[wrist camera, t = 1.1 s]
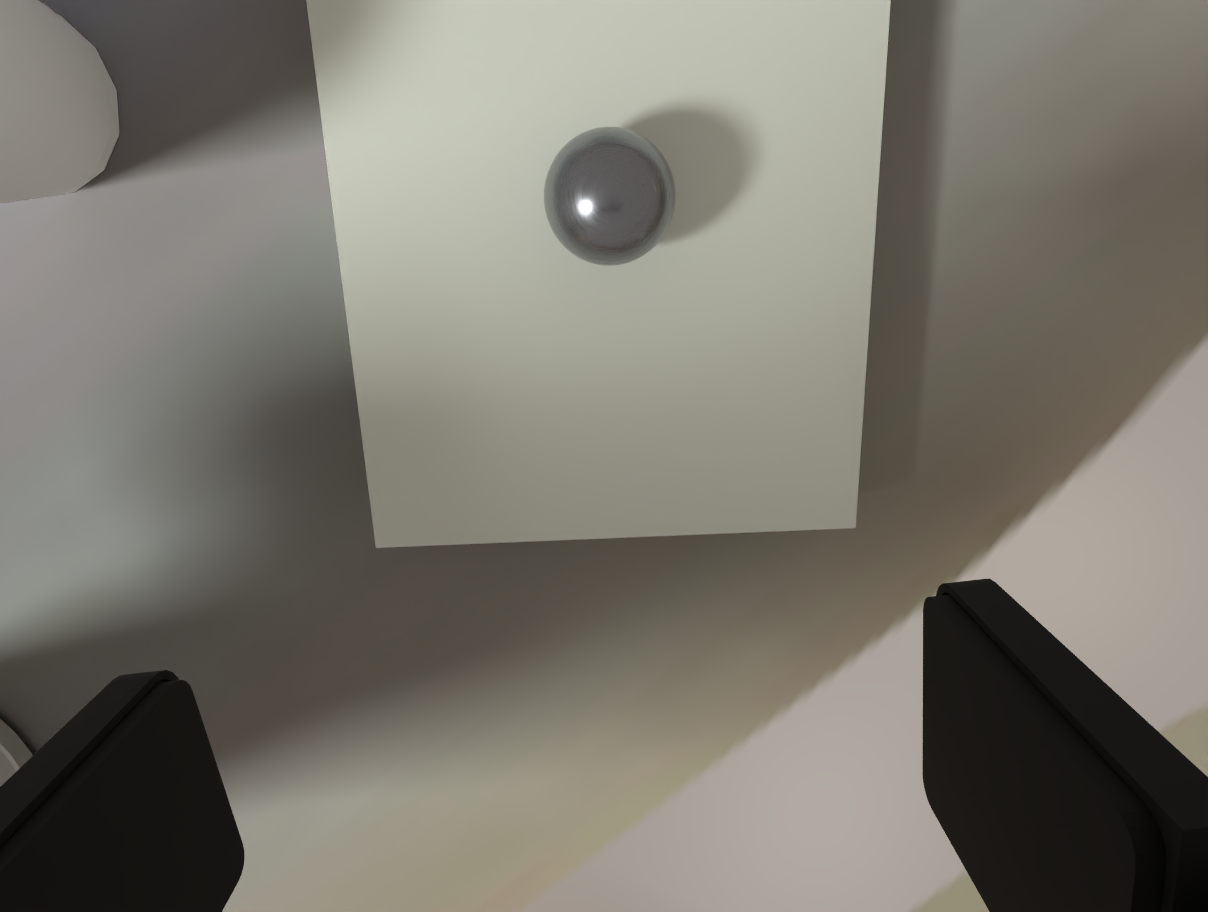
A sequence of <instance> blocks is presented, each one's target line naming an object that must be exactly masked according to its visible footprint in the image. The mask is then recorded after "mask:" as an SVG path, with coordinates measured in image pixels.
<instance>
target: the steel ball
mask: <svg viewBox="0 0 1208 912" xmlns="http://www.w3.org/2000/svg"><path fill="white" fill-rule="evenodd" d="M544 206H545V212H546V216H547V219H548V222H549V225H550V227H551V229H552V231H553V233H554V234H555V236H556V237H557V239H558V240H559V242H560V243H561V244H562V245H563V246H564V247H565V248H566V249H567V250H569V251H570V252H571V253H572V254H574V255H575V256H577V257H578V258H580V259H582V260H585V261H587V262H590V263H593V264H598V265H607V266H613V265H621V264H625V263H629V262H631V261H634V260H636V259H638V258H640V257H642V256H644V255H645V254H646V253H648V252H649V251H650V250H651V249H653V248H654V247H655V246H656V245H657V244H658V242H659V241H660V240H661V239H662V237H663V236H664V234H665V232H666V231H667V229H668V227H669V224H670V222H671V219H672V216H673V212H674V207H675V185H674V180H673V176H672V173H671V170H670V167H669V165H668V163H667V161H666V159H665V158H664V156H663V155H662V153H661V152H660V151H659V150H658V149H657V147H656V146H655V145H654V144H653V143H651V142H650V141H649V140H648V139H646V138H645V137H643V136H642V135H640V134H638V133H636V132H634V131H631V130H628V129H625V128H620V127H599V128H595V129H591V130H588V131H586V132H583V133H581V134H579V135H578V136H576V137H574V138H573V139H572V140H570V141H569V142H568V143H567V144H566V145H565V146H564V147H563V148H562V149H561V150H560V151H559V153H558V154H557V155H556V157H555V158H554V160H553V162H552V164H551V166H550V168H549V171H548V173H547V177H546V181H545V187H544Z"/></svg>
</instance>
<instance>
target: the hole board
mask: <svg viewBox="0 0 1208 912" xmlns="http://www.w3.org/2000/svg"><path fill="white" fill-rule="evenodd" d="M306 3H307V11H308V18H309V26H310V34H311V42H312V50H313V58H314V66H315V73H316V81H317V89H318V97H319V105H320V113H321V121H322V128H323V136H324V144H325V152H326V160H327V168H328V176H329V184H330V191H331V199H332V207H333V215H334V223H335V231H336V239H337V246H338V254H339V262H340V270H341V278H342V286H343V294H344V302H345V309H346V317H347V325H348V333H349V341H350V349H351V357H352V364H353V372H354V380H355V388H356V396H357V404H358V412H359V420H360V427H361V435H362V443H363V451H364V459H365V467H366V475H367V482H368V490H369V498H370V506H371V514H372V522H373V530H374V538H375V545H376V548H387V547H411V546H436V545H460V544H484V543H508V542H532V541H557V540H581V539H605V538H629V537H653V536H678V535H702V534H726V533H750V532H775V531H799V530H823V529H847V528H856V515H857V500H858V485H859V470H860V455H861V440H862V425H863V410H864V395H865V380H866V365H867V350H868V335H869V320H870V305H871V290H872V275H873V260H874V245H875V230H876V215H877V200H878V184H879V169H880V154H881V139H882V124H883V109H884V94H885V79H886V64H887V49H888V34H889V19H890V4H891V0H306ZM599 127H620V128H625V129H628V130H631V131H634V132H636V133H638V134H640V135H642V136H643V137H645V138H646V139H648V140H649V141H650V142H651V143H653V144H654V145H655V146H656V147H657V149H658V150H659V151H660V152H661V153H662V155H663V156H664V158H665V159H666V161H667V163H668V165H669V167H670V170H671V173H672V176H673V180H674V185H675V207H674V212H673V216H672V219H671V222H670V224H669V227H668V229H667V231H666V232H665V234H664V236H663V237H662V239H661V240H660V241H659V242H658V244H657V245H656V246H655V247H654V248H653V249H651V250H650V251H649V252H648V253H646V254H645V255H644V256H642V257H640V258H638V259H636V260H634V261H631V262H629V263H625V264H621V265H613V266H607V265H598V264H593V263H590V262H587V261H585V260H582V259H580V258H578V257H577V256H575V255H574V254H572V253H571V252H570V251H569V250H567V249H566V248H565V247H564V246H563V245H562V244H561V243H560V242H559V240H558V239H557V237H556V236H555V234H554V233H553V231H552V229H551V227H550V225H549V222H548V219H547V216H546V212H545V206H544V187H545V181H546V177H547V173H548V171H549V168H550V166H551V164H552V162H553V160H554V158H555V157H556V155H557V154H558V153H559V151H560V150H561V149H562V148H563V147H564V146H565V145H566V144H567V143H568V142H569V141H570V140H572V139H573V138H574V137H576V136H578V135H579V134H581V133H583V132H586V131H588V130H591V129H595V128H599Z"/></svg>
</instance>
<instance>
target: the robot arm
mask: <svg viewBox="0 0 1208 912" xmlns="http://www.w3.org/2000/svg"><path fill="white" fill-rule="evenodd" d="M923 782H924V788H925V792H926V795H927V799H928V801H929V804H930V806H931V808H932V810H933V812H934V814H935V816H936V817H937V819H938V821H939V822H940V824H941V826H942V828H943V830H944V831H945V833H946V835H947V837H948V838H949V840H950V842H951V844H952V846H953V847H954V849H955V851H956V853H957V854H958V856H959V858H960V860H961V862H962V863H963V865H964V867H965V869H966V871H967V872H968V874H969V876H970V878H971V879H972V881H973V883H974V885H975V886H976V888H977V890H978V892H979V894H980V895H981V897H982V899H983V901H984V902H985V904H986V906H987V908H988V910H989V911H990V912H1208V777H1207V776H1206V775H1205V774H1204V773H1203V772H1201V771H1200V770H1199V769H1198V768H1197V767H1196V766H1195V765H1194V764H1193V763H1192V762H1191V761H1189V760H1188V759H1187V758H1186V757H1185V756H1184V755H1183V754H1182V753H1181V752H1180V751H1179V750H1177V749H1176V748H1175V747H1174V746H1173V745H1172V744H1171V743H1170V742H1169V741H1168V740H1167V739H1165V738H1164V737H1163V736H1162V735H1161V734H1160V733H1159V732H1158V731H1157V730H1156V729H1155V728H1153V727H1152V726H1151V725H1150V724H1149V723H1148V722H1147V721H1146V720H1145V719H1144V718H1143V717H1141V716H1140V715H1139V714H1138V713H1137V712H1136V711H1135V710H1134V709H1133V708H1132V707H1131V706H1129V705H1128V704H1127V703H1126V702H1125V701H1124V700H1123V699H1122V698H1121V697H1120V696H1119V695H1118V694H1116V693H1115V692H1114V691H1113V690H1112V689H1111V688H1110V687H1109V686H1108V685H1107V684H1106V683H1104V682H1103V681H1102V680H1101V679H1100V678H1099V677H1098V676H1097V675H1096V674H1094V672H1092V671H1091V670H1090V669H1089V668H1088V667H1087V666H1086V665H1085V664H1084V663H1083V662H1082V661H1080V660H1079V659H1078V658H1077V657H1076V656H1075V655H1074V654H1073V653H1072V652H1071V651H1070V650H1068V649H1067V648H1066V647H1065V646H1064V645H1063V644H1062V643H1061V642H1060V641H1059V640H1057V639H1056V638H1055V637H1054V636H1053V635H1052V634H1051V633H1050V632H1049V631H1048V630H1047V629H1046V628H1045V627H1043V626H1042V625H1041V624H1040V623H1039V622H1038V621H1037V620H1036V619H1035V618H1034V617H1032V616H1031V615H1030V614H1029V613H1028V612H1027V611H1026V610H1025V609H1024V608H1023V607H1022V606H1021V605H1019V604H1018V603H1017V602H1016V601H1015V600H1014V599H1013V598H1012V597H1011V596H1009V594H1007V593H1006V592H1005V591H1004V590H1003V589H1002V588H1001V587H1000V586H999V585H998V584H997V583H996V582H994V581H992V580H991V579H981V580H972V581H963V582H954V583H945V584H941V585H940V586H939V588H938V591H937V594H936V596H934V597H927V598H926V599H925V602H924V608H923ZM243 865H244V848H243V843H242V840H241V837H240V834H239V831H238V828H237V825H236V822H235V819H234V816H233V813H232V810H231V807H230V804H229V801H228V798H227V795H226V792H225V789H224V785H223V782H222V779H221V776H220V773H219V770H218V767H217V764H216V761H215V758H214V755H213V752H212V749H211V746H210V743H209V740H208V737H207V734H206V731H205V728H204V724H203V721H202V718H201V715H200V712H199V709H198V706H197V703H196V700H195V697H194V694H193V691H192V689H191V687H190V685H189V684H188V683H187V682H186V681H183V680H179V679H178V677H177V676H176V675H175V674H174V673H173V672H170V671H167V670H164V671H155V672H146V673H137V674H128V675H122V676H118V677H117V678H115V679H114V680H112V681H111V682H110V683H109V684H108V685H107V686H106V687H105V688H104V689H103V690H102V691H101V692H100V693H99V694H98V695H97V696H96V697H94V698H93V699H92V700H91V701H90V702H89V703H88V704H87V705H86V706H85V707H84V708H83V709H82V710H81V711H80V712H79V713H78V714H77V715H75V716H74V717H73V718H72V719H71V720H70V721H69V722H68V723H67V724H66V725H65V726H64V727H63V728H62V729H61V730H60V731H59V732H58V733H56V734H55V735H54V736H53V737H52V738H51V739H50V740H49V741H48V742H47V743H46V744H45V745H44V746H43V747H42V748H41V749H40V750H39V751H38V752H36V753H35V754H34V755H32V753H31V752H30V751H29V749H28V748H27V747H26V745H25V744H24V743H23V742H22V740H21V739H20V738H19V737H18V735H17V734H16V733H15V732H14V731H13V730H12V729H11V728H10V727H9V726H8V725H7V724H6V723H4V722H3V721H2V720H1V719H0V912H222V910H223V908H224V907H225V905H226V903H227V901H228V899H229V897H230V896H231V894H232V892H233V890H234V888H235V886H236V885H237V883H238V881H239V879H240V876H241V874H242V870H243Z"/></svg>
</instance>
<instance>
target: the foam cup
mask: <svg viewBox="0 0 1208 912" xmlns="http://www.w3.org/2000/svg"><path fill="white" fill-rule="evenodd" d="M119 134H120V133H119V118H118V102H117V90H116V88H115V86H114V84H113V82H112V80H111V78H110V76H109V74H108V72H107V70H106V68H105V66H104V64H103V62H102V60H101V58H100V56H99V53H98V51H97V49H96V48H95V47H94V46H93V45H92V44H91V43H90V42H89V41H88V40H87V39H86V38H84V37H83V36H82V35H81V34H80V33H79V32H78V31H77V30H76V29H75V28H74V27H73V26H71V25H70V24H69V23H68V22H67V21H66V20H65V19H64V18H63V17H62V16H61V15H59V14H56V13H54V12H53V11H52V10H51V9H50V8H49V7H48V6H46V5H45V4H43V3H42V2H40V1H38V0H0V203H7V202H14V201H21V200H28V199H35V198H42V197H49V196H57V195H64V194H66V193H74V192H76V191H77V190H78V189H80V188H81V187H82V186H84V185H85V184H86V183H88V182H89V181H91V180H92V179H93V178H95V177H96V176H97V175H99V174H100V173H101V172H103V171H104V170H105V167H106V165H107V163H108V160H109V158H110V156H111V153H112V151H113V148H114V146H115V144H116V141H117V139H118V137H119Z"/></svg>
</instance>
